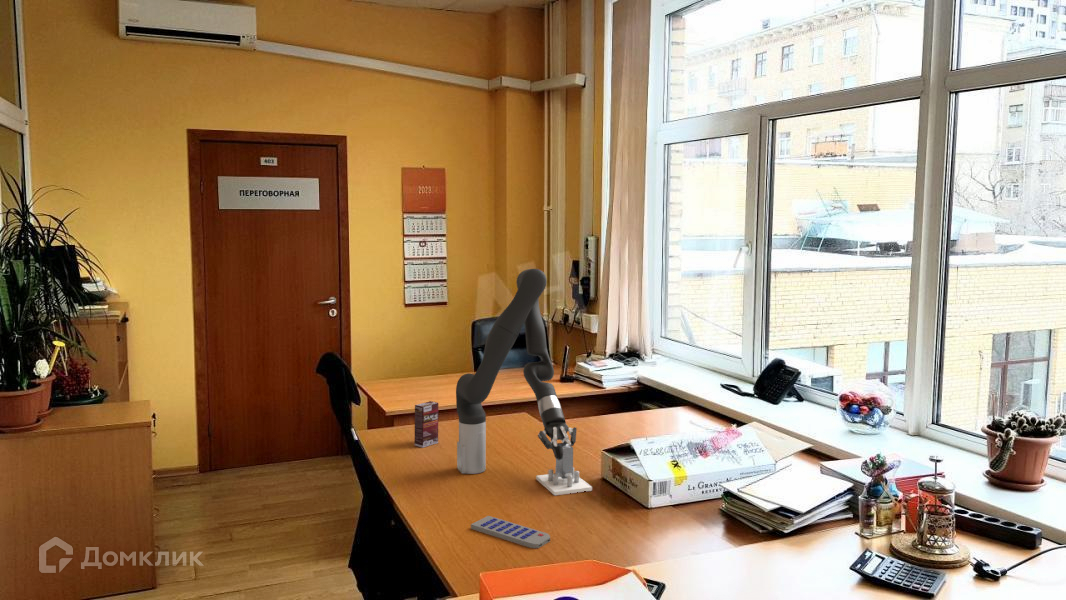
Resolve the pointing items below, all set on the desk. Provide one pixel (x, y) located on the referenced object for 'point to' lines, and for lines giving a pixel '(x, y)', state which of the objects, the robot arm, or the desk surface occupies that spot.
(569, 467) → the drive
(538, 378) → the robot arm
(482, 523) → the remote control
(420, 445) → the supplement box
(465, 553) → the desk surface
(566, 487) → the tray
